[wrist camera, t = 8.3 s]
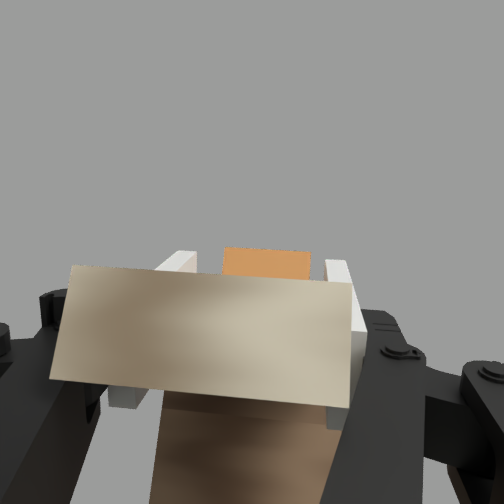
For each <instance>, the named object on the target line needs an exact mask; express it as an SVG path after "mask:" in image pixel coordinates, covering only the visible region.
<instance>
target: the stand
mask: <svg viewBox="0 0 504 504" xmlns="http://www.w3.org/2000/svg"><path fill="white" fill-rule="evenodd" d="M160 419H161V420H160V426H159V433H158V441H157V448H156V455H155V463H154V471H153V477H152V486H151V492H150V499H149V504H319V503H320V499H321V496H322V493H323V490H324V487H325V484H326V481H327V477H328V474H329V471H330V468H331V465H332V462H333V459H334V455H335V452H336V449H337V446H338V443H339V440H340V436H341V433H342V431H340V430H330V429H327V424H326V407H325V406H321V405H311V404H301V403H290V402H280V401H270V400H260V399H249V398H239V397H229V396H219V395H209V394H198V393H188V392H178V391H168V390H164V397H163V405H162V411H161V418H160Z"/></svg>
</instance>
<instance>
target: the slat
mask: <svg viewBox="0 0 504 504" xmlns="http://www.w3.org/2000/svg"><path fill="white" fill-rule="evenodd" d="M351 322H352V283H344V282H329V281H313V280H298V279H283V278H267V277H252V276H236V275H221V274H205V273H190V272H175V271H160V270H144V269H128V268H113V267H98V266H83V265H73V266H72V271H71V275H70V280H69V285H68V290H67V295H66V299H65V304H64V309H63V314H62V319H61V324H60V329H59V333H58V338H57V343H56V348H55V353H54V358H53V363H52V367H51V372H50V377H49V379H55V380H65V381H76V382H86V383H96V384H106V385H117V386H127V387H137V388H147V389H158V390H168V391H178V392H188V393H198V394H209V395H219V396H229V397H239V398H249V399H260V400H270V401H280V402H290V403H301V404H311V405H321V406H331V407H341V408H349V399H350V360H351Z"/></svg>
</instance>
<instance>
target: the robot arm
mask: <svg viewBox="0 0 504 504" xmlns="http://www.w3.org/2000/svg"><path fill="white" fill-rule="evenodd" d="M155 270H160V271H175V272H190V273H197V252H195V251H177V252H176V253H174V254H173V255H172V256H171V257H170V258H168V259H167V260H166V261H165V262H163V263H162V264H161V265H160V266H159V267H157V268H156V269H155ZM324 281H329V282H344V283H352V280H351V278H350V274H349V271H348V267H347V264H346V261H345V260H329V259H325V270H324ZM67 290H68V289H60V290H55V291H51V292H48V293H45V294H43V295H42V296H40V297H39V300H40V309H41V319H42V328H41V329H40V330H39V331H38V333H37V334H36V335H35V336H34V338H29V339H14V340H11V339H10V330H9V326H8V325H7V324H5V323H0V504H70V501H71V498H72V495H73V492H74V489H75V486H76V484H77V481H78V478H79V475H80V472H81V468H82V466H83V463H84V460H85V457H86V454H87V451H88V448H89V446H90V442H91V440H92V437H93V434H94V431H95V428H96V425H97V422H98V419H99V416H100V396H101V395H102V393H103V392H104V391H105V390H106V389H107V387H108V401H109V406H110V407H119V408H128V409H136V408H137V407H138V405H139V404H140V402H141V401H142V399H143V398H144V396H145V395H146V393H147V391H148V390H149V389H147V388H137V387H127V386H117V385H106V384H96V383H86V382H76V381H65V380H55V379H49V377H50V372H51V367H52V363H53V358H54V353H55V348H56V343H57V338H58V333H59V329H60V324H61V319H62V314H63V309H64V304H65V299H66V295H67ZM325 407H326V424H327V429H330V430H340V431H342V433H341V436H340V440H339V443H338V446H337V449H336V452H335V455H334V459H333V462H332V465H331V468H330V471H329V474H328V477H327V481H326V484H325V487H324V490H323V493H322V496H321V499H320V503H319V504H422V492H423V490H422V489H423V457H426V458H429V459H432V460H435V461H439V462H441V463H444V464H447V471H448V475H449V478H450V480H451V483H452V485H453V488H454V490H455V493H456V495H457V498H458V500H459V503H460V504H504V364H501V363H500V362H496V361H492V362H490V361H471V362H467V363H466V364H465V365H464V366H463V370H462V375H461V376H458V375H453V374H449V373H445V372H441V371H438V370H435V369H432V368H430V367H427V366H426V357H425V355H424V353H423V352H422V351H420V350H419V349H418V348H416V347H413V346H411V345H409V344H407V342H406V340H405V339H404V336H403V334H402V333H401V330H400V328H399V326H398V324H397V323H396V320H395V319H394V317H393V316H391V315H390V314H388V313H387V312H385V311H379V310H365V309H360V306H359V303H358V300H357V297H356V293H355V290H354V287H353V284H352V322H351V360H350V399H349V408H341V407H331V406H325Z"/></svg>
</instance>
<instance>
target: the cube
mask: <svg viewBox="0 0 504 504" xmlns="http://www.w3.org/2000/svg"><path fill="white" fill-rule="evenodd" d="M310 259H311V252H301V251H284V250H267V249H249V248H232V247H225V252H224V261H223V271H222V275H236V276H252V277H267V278H283V279H298V280H309V278H310V276H309V275H310Z"/></svg>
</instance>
